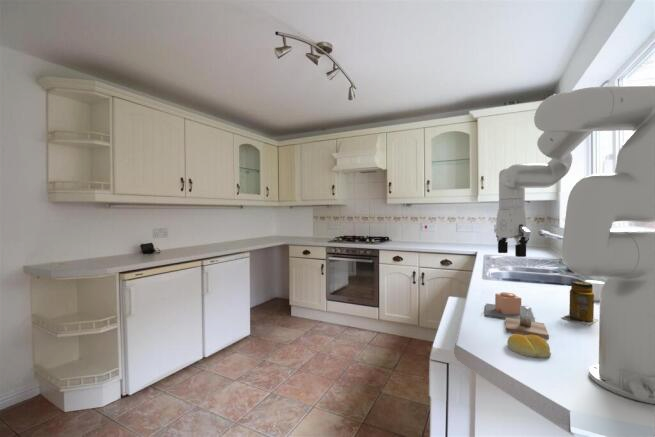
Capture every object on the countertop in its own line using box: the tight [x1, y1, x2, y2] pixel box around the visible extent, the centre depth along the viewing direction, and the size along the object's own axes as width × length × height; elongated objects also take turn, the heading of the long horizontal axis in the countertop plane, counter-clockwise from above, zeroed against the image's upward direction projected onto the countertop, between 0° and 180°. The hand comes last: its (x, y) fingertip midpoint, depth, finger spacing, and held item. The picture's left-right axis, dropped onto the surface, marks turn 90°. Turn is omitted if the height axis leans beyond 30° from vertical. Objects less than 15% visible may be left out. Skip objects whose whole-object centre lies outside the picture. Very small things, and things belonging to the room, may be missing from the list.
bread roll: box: [506, 333, 552, 359], centre depth 75 cm, size 8×9×4 cm
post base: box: [505, 318, 550, 340], centre depth 88 cm, size 10×10×1 cm
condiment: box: [561, 280, 599, 326], centre depth 97 cm, size 7×8×12 cm
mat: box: [484, 303, 536, 322], centre depth 102 cm, size 14×14×1 cm
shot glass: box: [584, 279, 606, 302], centre depth 120 cm, size 7×7×7 cm
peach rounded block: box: [494, 291, 522, 314], centre depth 103 cm, size 7×6×6 cm
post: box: [520, 305, 532, 327], centre depth 88 cm, size 3×3×6 cm
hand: (511, 254), depth 101 cm, fingers open, 9 cm apart
